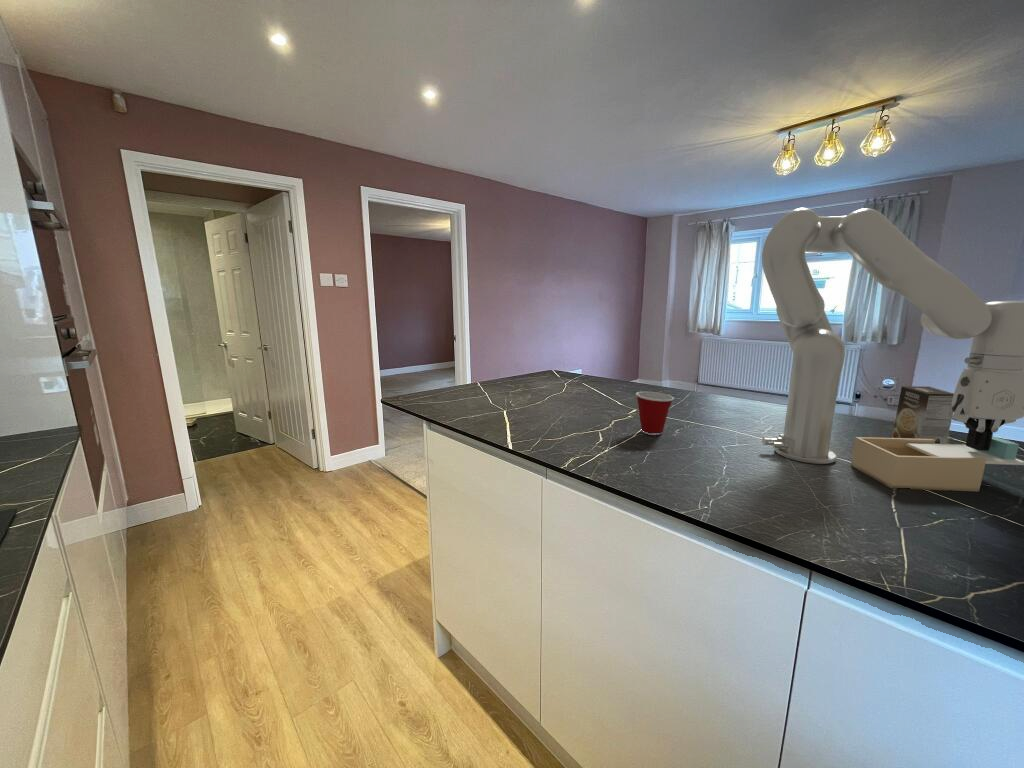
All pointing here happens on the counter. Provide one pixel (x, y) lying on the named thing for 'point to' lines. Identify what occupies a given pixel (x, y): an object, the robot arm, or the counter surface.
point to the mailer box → (915, 465)
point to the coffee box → (923, 414)
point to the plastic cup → (653, 410)
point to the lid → (974, 451)
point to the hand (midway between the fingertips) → (976, 448)
